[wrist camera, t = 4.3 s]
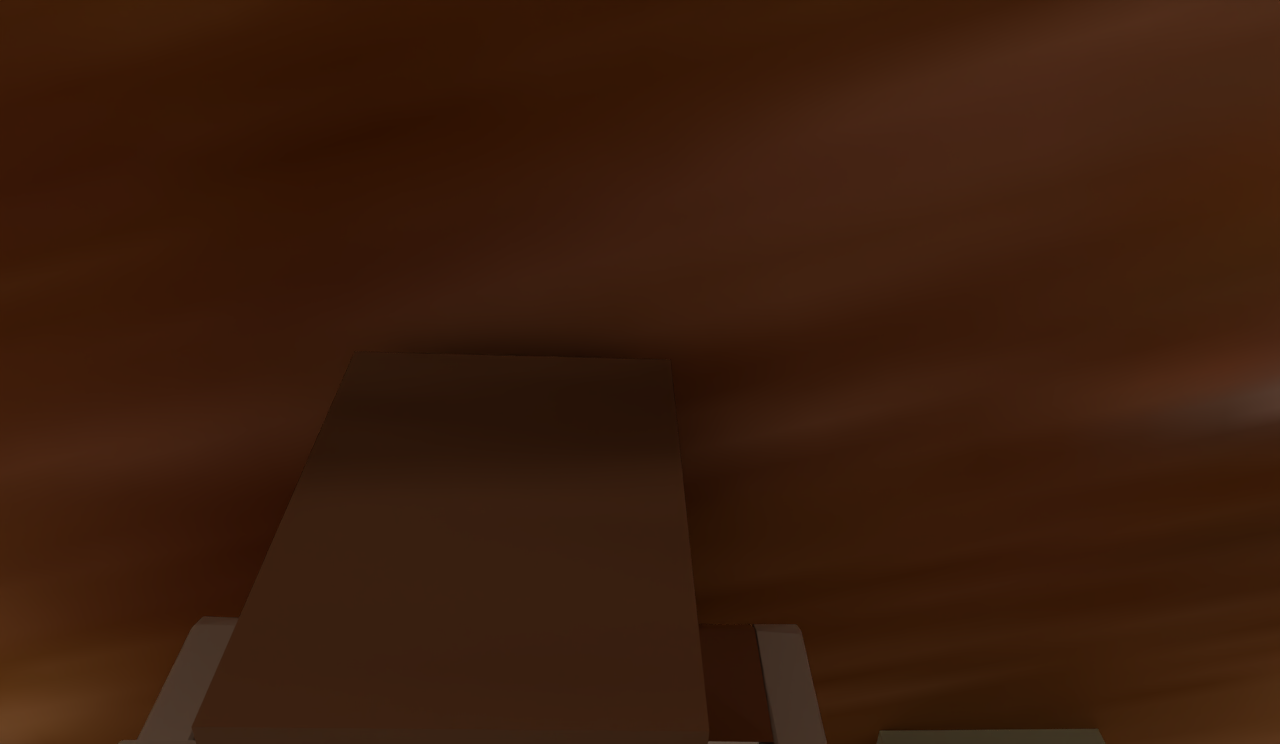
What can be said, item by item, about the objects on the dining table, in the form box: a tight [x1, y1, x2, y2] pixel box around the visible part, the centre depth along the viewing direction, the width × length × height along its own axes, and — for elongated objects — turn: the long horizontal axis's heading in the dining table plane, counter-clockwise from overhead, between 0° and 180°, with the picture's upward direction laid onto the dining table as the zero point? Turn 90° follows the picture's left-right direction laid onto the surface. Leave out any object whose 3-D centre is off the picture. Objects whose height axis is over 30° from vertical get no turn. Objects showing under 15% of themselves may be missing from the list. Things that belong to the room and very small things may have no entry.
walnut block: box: [192, 352, 709, 744], centre depth 10 cm, size 6×4×5 cm, turn 177°
